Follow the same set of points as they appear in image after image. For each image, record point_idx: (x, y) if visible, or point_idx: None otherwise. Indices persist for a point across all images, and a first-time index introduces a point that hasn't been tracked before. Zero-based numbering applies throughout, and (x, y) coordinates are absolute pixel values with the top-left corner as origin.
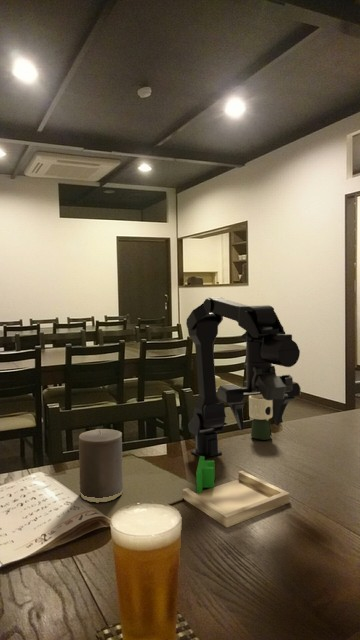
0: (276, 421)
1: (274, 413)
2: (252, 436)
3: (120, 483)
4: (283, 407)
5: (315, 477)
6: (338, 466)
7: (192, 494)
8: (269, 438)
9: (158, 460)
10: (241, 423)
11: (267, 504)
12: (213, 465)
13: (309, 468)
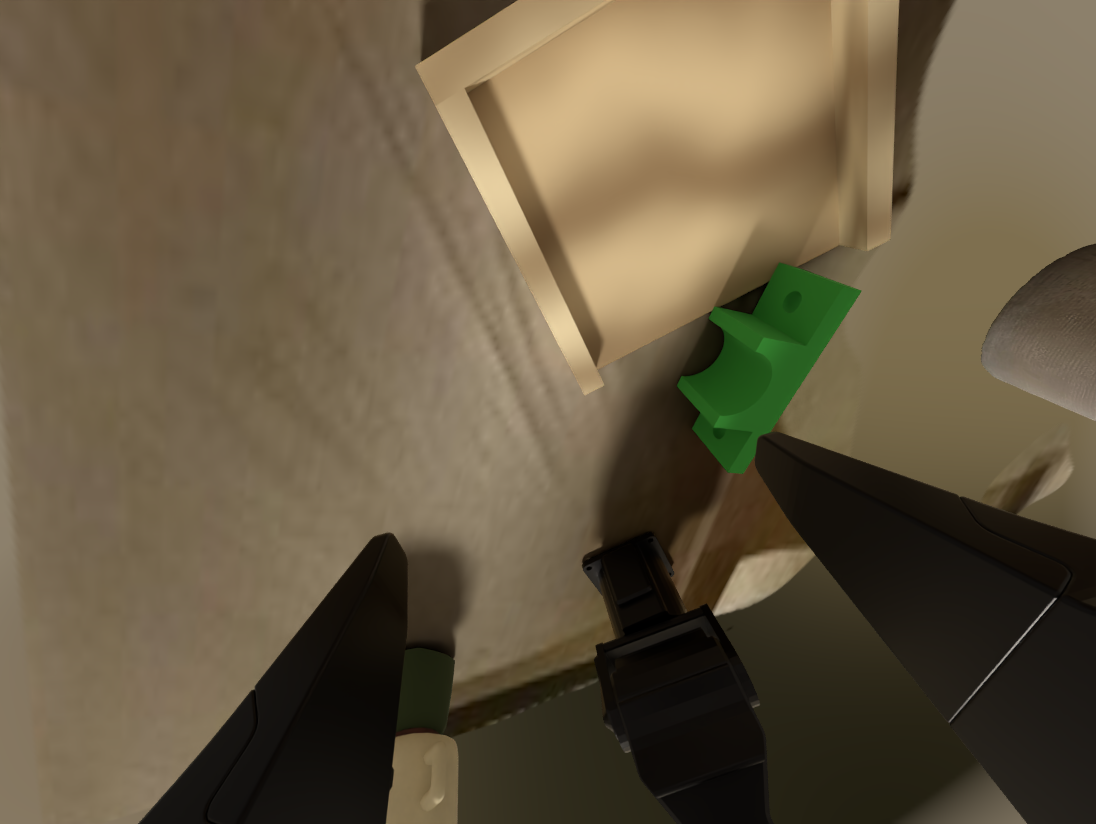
0: (391, 572)
1: (394, 678)
2: (452, 661)
3: (1078, 301)
4: (212, 781)
5: (236, 359)
6: (103, 460)
7: (886, 174)
8: None
9: (780, 524)
10: (840, 460)
11: None
12: (713, 406)
13: (259, 448)
